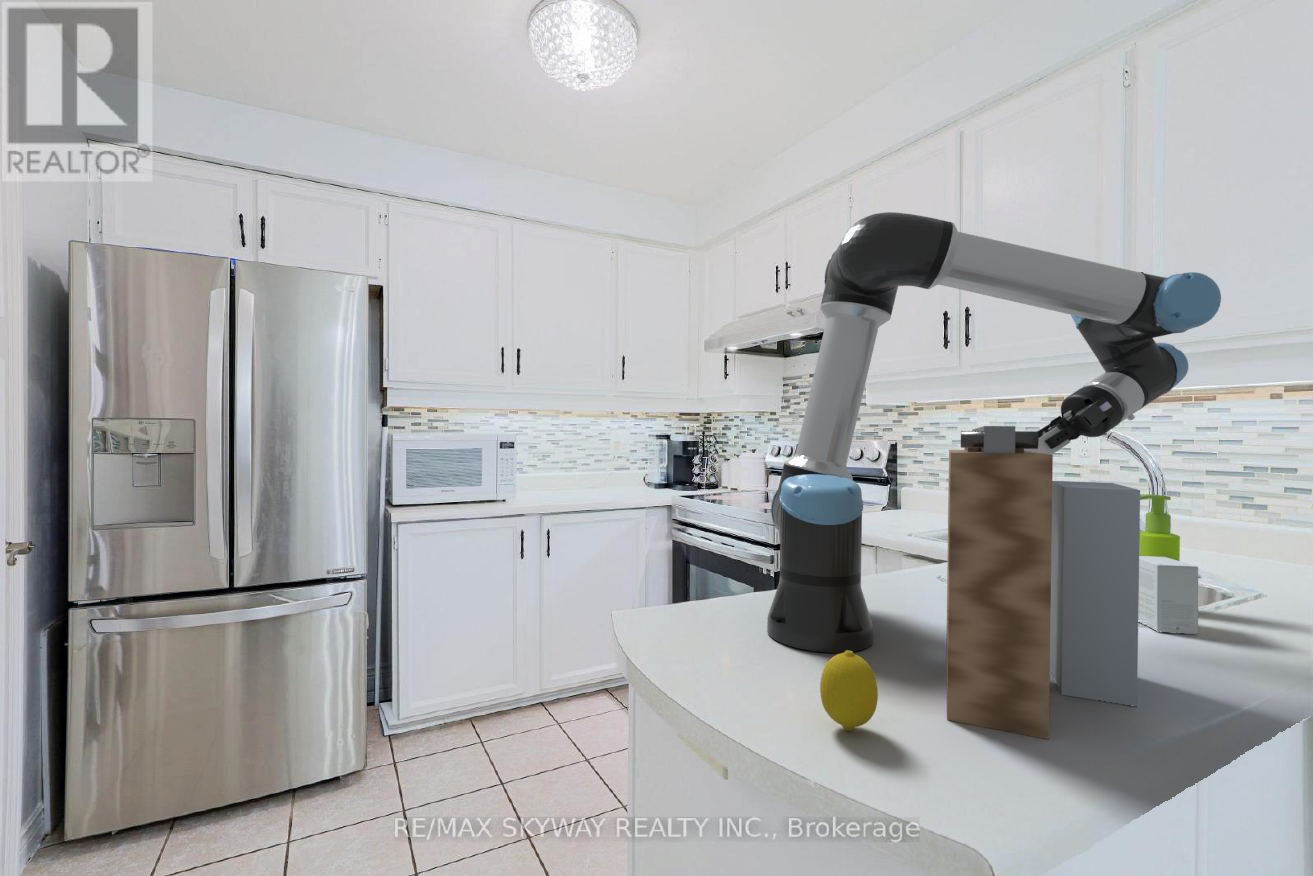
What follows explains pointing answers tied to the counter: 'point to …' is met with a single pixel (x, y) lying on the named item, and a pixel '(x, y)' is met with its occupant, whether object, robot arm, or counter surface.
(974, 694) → the walnut stand
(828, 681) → the lemon
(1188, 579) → the small box
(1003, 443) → the dark grey bar
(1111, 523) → the block
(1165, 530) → the soap dispenser
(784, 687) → the counter surface
